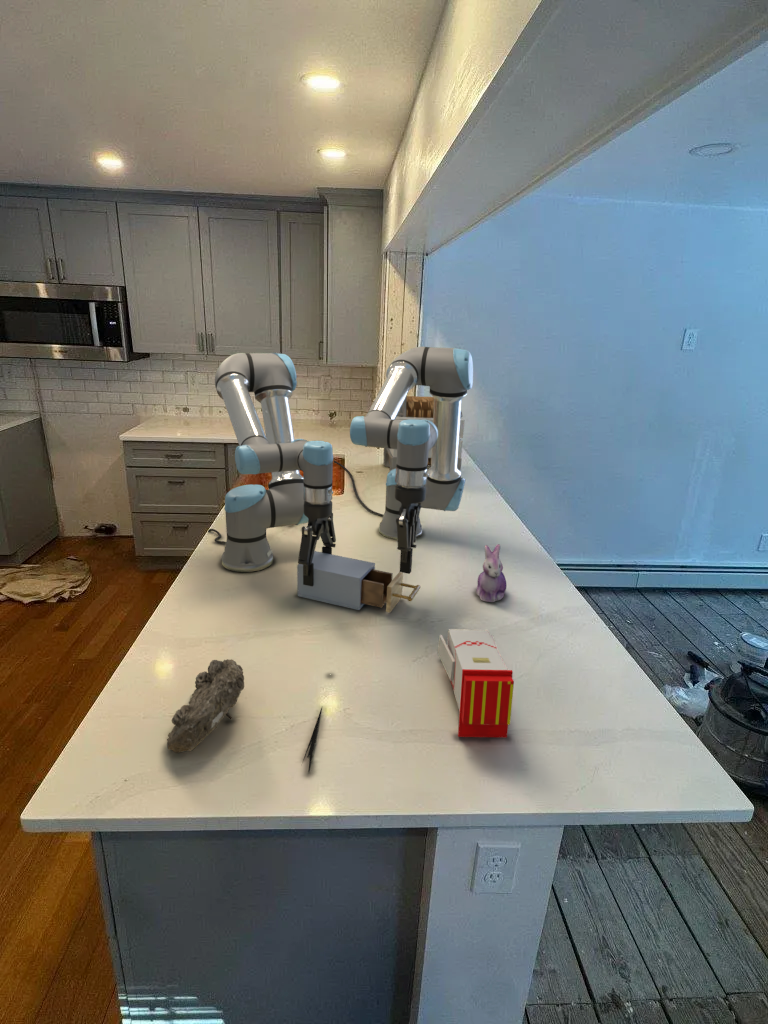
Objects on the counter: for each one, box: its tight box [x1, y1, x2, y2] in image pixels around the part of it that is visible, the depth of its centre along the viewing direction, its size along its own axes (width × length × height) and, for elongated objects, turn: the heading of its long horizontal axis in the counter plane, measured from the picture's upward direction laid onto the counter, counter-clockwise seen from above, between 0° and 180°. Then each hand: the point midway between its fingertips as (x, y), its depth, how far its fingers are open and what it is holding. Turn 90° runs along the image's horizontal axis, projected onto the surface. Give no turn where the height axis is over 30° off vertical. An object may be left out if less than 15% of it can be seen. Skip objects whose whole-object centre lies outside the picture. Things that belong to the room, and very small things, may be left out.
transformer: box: [383, 395, 465, 473], centre depth 268 cm, size 34×33×41 cm
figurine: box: [476, 544, 507, 603], centre depth 157 cm, size 9×10×15 cm
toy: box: [437, 628, 515, 738], centre depth 117 cm, size 12×13×30 cm
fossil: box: [166, 658, 245, 754], centre depth 106 cm, size 22×10×15 cm
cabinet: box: [296, 550, 376, 611], centre depth 154 cm, size 18×10×9 cm, turn 69°
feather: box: [301, 673, 332, 771], centre depth 108 cm, size 2×28×2 cm
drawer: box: [361, 569, 421, 614], centre depth 151 cm, size 22×9×7 cm, turn 69°
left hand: (317, 576), depth 156 cm, fingers closed on cabinet, 10 cm apart
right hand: (405, 571), depth 146 cm, fingers closed
